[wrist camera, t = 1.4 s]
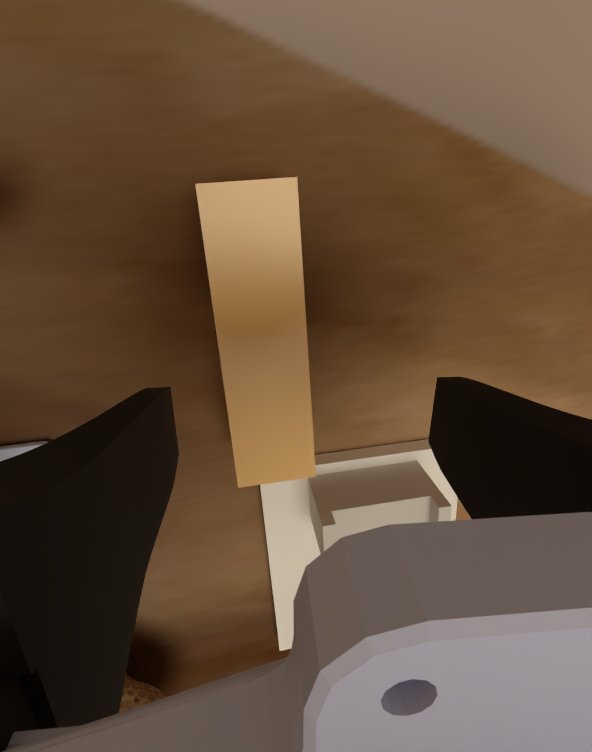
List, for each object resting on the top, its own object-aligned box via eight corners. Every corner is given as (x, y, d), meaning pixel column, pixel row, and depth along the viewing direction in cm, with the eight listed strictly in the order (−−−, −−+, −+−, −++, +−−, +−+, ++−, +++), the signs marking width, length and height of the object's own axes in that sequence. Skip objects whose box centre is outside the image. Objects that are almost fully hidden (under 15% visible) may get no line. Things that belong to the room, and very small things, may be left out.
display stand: (277, 636, 28) (287, 718, 23) (257, 462, 23) (264, 524, 19) (440, 606, 29) (479, 678, 25) (452, 435, 24) (504, 486, 20)
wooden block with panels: (236, 438, 23) (238, 487, 19) (202, 189, 18) (195, 183, 14) (301, 429, 23) (316, 476, 19) (283, 184, 19) (298, 176, 15)
